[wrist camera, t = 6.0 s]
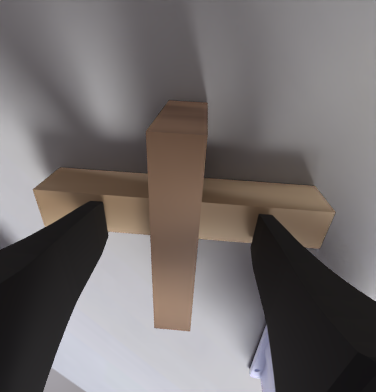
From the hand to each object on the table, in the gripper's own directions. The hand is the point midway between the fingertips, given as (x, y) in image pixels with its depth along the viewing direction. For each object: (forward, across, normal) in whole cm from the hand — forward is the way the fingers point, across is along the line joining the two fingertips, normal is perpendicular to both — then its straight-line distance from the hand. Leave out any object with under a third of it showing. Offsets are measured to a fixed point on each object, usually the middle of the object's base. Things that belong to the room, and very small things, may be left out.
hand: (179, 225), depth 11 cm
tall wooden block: (+3, 0, 0) cm, 3 cm away
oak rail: (+3, 0, 0) cm, 3 cm away
